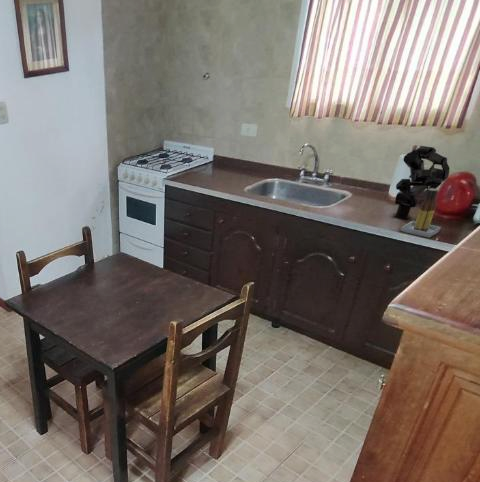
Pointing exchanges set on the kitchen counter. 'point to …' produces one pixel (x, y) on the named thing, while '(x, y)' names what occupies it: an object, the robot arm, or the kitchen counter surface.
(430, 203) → the sauce bottle
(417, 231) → the grey shallow tray
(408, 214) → the robot arm
